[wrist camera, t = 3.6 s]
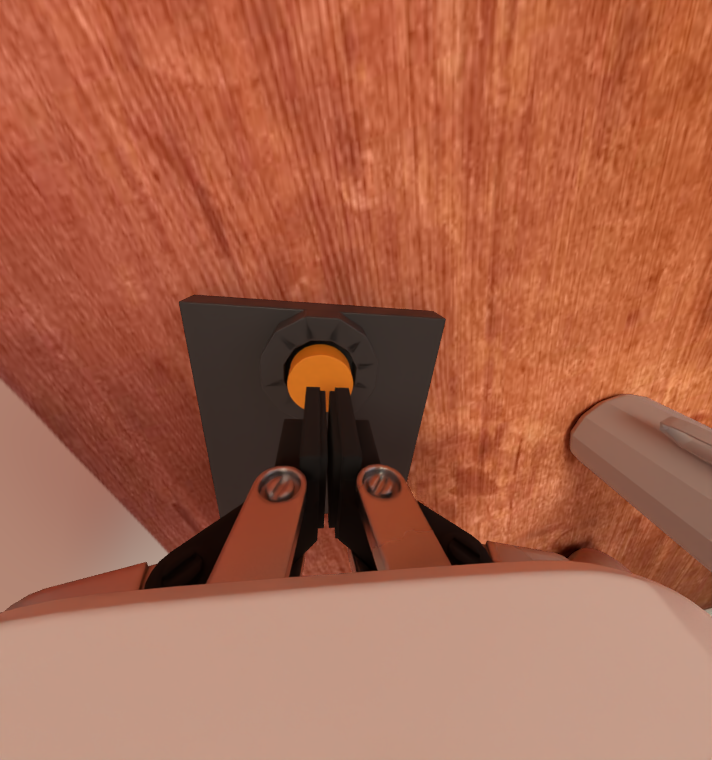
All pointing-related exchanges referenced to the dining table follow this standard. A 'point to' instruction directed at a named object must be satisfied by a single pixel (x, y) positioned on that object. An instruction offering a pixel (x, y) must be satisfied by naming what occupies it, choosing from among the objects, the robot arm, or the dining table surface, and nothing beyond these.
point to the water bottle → (653, 465)
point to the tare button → (318, 372)
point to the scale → (271, 369)
